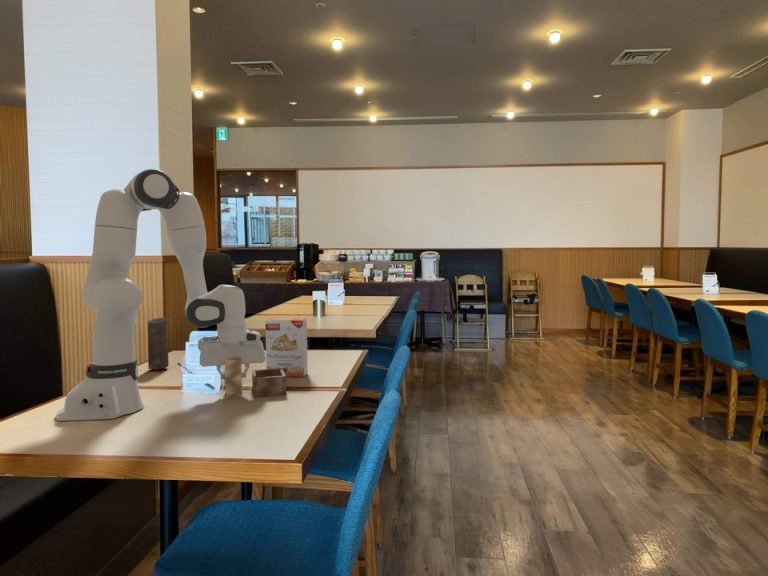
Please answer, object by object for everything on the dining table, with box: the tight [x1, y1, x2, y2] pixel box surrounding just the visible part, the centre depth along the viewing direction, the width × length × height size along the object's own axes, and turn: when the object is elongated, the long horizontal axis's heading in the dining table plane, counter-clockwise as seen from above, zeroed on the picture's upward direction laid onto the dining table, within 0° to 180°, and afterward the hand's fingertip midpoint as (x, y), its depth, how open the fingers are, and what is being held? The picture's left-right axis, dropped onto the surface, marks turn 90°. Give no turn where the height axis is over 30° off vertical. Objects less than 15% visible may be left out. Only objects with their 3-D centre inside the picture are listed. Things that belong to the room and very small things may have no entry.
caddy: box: [251, 368, 287, 398], centre depth 182 cm, size 10×13×6 cm
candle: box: [147, 317, 170, 371], centre depth 218 cm, size 8×7×20 cm
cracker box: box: [265, 317, 309, 378], centre depth 204 cm, size 14×6×21 cm, turn 83°
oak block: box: [224, 358, 243, 399], centre depth 179 cm, size 5×8×12 cm, turn 15°
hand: (233, 378), depth 179 cm, fingers closed on oak block, 5 cm apart
